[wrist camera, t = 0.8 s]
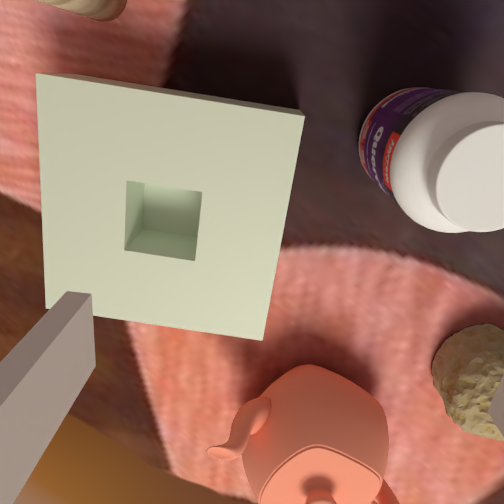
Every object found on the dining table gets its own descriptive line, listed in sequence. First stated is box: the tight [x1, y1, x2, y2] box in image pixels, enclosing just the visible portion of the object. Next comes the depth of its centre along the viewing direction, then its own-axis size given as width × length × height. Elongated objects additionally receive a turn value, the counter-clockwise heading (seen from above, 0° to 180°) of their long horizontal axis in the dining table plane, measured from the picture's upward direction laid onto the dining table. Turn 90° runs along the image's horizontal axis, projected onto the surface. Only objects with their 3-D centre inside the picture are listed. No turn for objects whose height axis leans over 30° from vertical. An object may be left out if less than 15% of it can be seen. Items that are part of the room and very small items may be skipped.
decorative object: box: [432, 323, 504, 441], centre depth 40 cm, size 9×10×10 cm
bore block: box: [36, 73, 305, 341], centre depth 34 cm, size 18×18×6 cm
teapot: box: [207, 364, 399, 504], centre depth 40 cm, size 13×20×12 cm, turn 58°
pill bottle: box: [359, 87, 504, 233], centre depth 28 cm, size 8×8×14 cm
